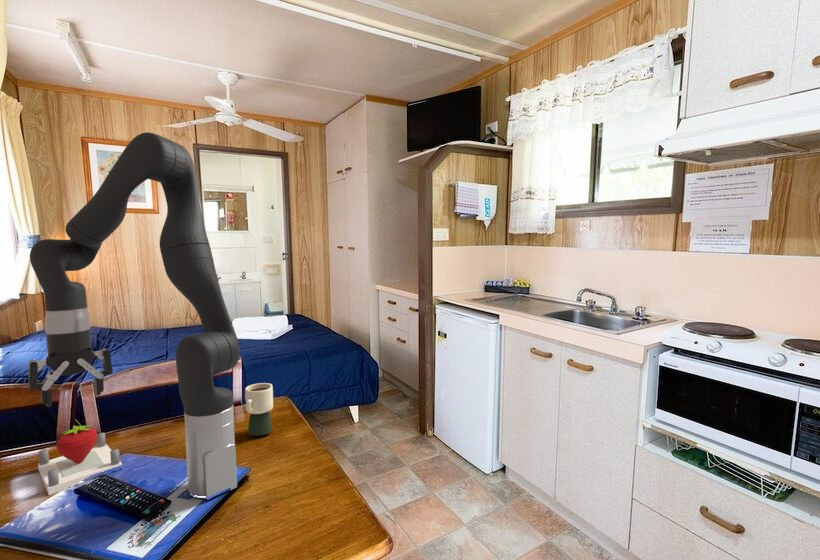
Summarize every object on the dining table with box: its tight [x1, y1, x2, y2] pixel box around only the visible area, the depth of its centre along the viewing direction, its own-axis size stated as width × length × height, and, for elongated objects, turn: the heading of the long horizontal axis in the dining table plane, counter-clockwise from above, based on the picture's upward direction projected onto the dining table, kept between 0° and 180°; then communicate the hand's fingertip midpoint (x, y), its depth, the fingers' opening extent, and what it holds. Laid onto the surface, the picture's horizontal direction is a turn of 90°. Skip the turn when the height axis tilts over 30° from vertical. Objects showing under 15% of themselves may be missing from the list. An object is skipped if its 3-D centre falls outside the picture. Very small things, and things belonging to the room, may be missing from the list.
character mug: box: [244, 382, 274, 437], centre depth 108 cm, size 11×7×13 cm, turn 169°
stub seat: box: [37, 432, 123, 496], centre depth 90 cm, size 15×13×4 cm
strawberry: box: [55, 419, 98, 463], centre depth 90 cm, size 6×8×10 cm
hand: (74, 399), depth 89 cm, fingers open, 8 cm apart
